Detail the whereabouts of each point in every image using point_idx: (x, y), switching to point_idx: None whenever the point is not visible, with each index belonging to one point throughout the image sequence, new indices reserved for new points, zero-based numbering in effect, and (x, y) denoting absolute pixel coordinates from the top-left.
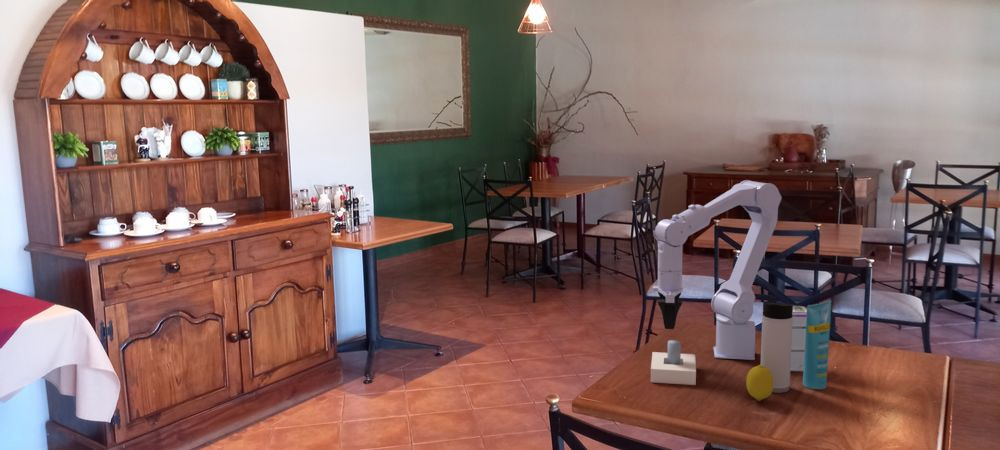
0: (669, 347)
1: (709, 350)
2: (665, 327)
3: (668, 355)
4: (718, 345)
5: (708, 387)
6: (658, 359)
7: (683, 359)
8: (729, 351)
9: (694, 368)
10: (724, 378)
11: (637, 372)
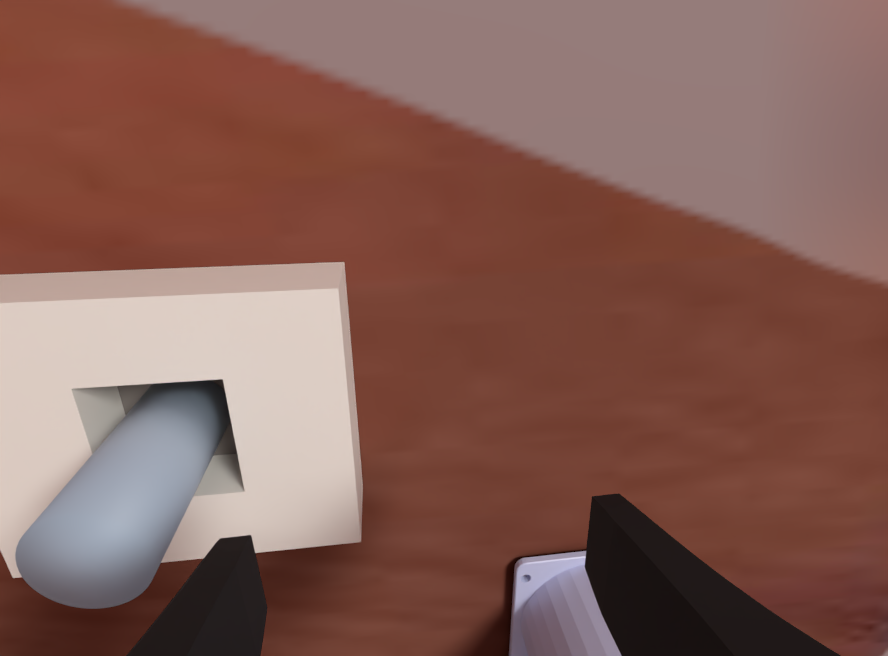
0: (52, 502)
1: None
2: (205, 557)
3: (102, 446)
4: (575, 613)
5: None
6: (166, 345)
7: (230, 495)
8: (530, 639)
9: None
10: None
11: (147, 169)
